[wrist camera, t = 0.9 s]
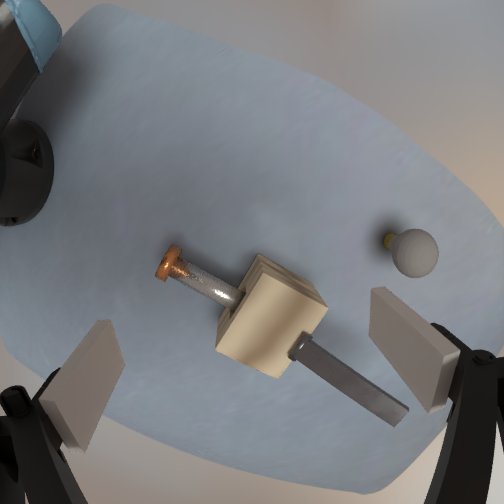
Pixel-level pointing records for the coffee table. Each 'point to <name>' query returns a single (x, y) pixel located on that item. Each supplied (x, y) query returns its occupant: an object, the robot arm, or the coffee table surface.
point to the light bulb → (413, 252)
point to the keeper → (347, 380)
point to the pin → (198, 279)
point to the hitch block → (269, 317)
